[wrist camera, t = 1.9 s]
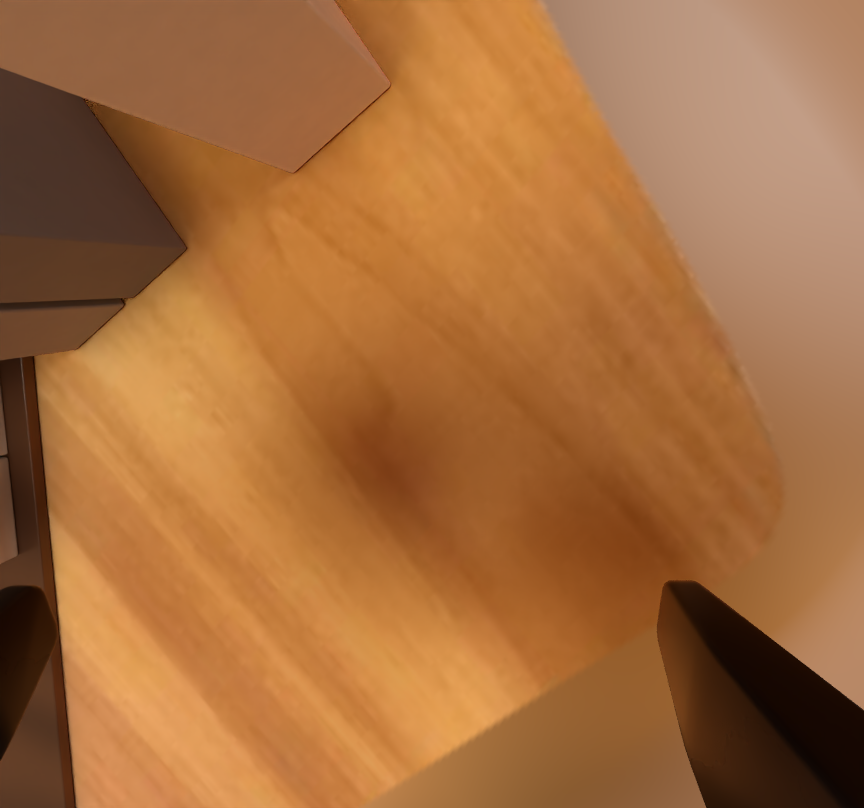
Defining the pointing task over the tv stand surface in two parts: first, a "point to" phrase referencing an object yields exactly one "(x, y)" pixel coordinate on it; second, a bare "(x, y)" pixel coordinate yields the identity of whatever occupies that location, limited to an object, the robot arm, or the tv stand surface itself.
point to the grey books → (68, 222)
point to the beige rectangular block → (204, 66)
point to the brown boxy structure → (30, 565)
